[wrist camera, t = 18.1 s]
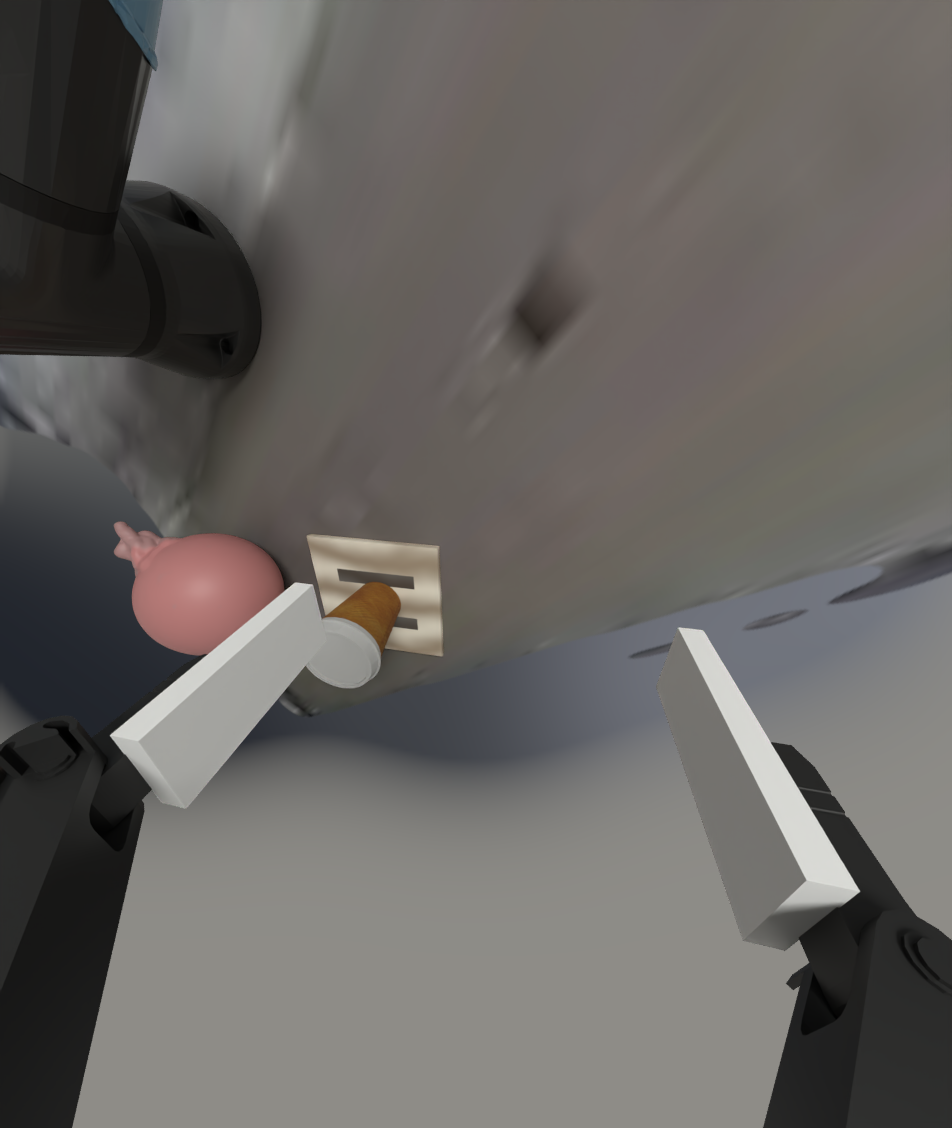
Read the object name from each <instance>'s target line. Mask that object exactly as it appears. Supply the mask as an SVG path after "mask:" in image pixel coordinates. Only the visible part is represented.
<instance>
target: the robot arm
mask: <svg viewBox="0 0 952 1128" xmlns="http://www.w3.org/2000/svg"><path fill="white" fill-rule="evenodd" d="M162 3H163V0H0V354H10V355H59V356H108V357H135V358H138V359H140V360H143V361H146V362H149V363H152V364H154V365H157V366H160V367H163V368H165V369H168V370H171V371H174V372H177V373H179V374H182V375H185V376H189V377H194V378H203V379H209V378H226V377H230V376H233V375H235V374H237V373H239V372H240V371H242V370H243V369H244V368H245V367H246V366H247V365H248V364H249V362H250V361H251V359H252V358H253V356H254V354H255V351H256V349H257V346H258V342H259V337H260V329H261V312H260V304H259V298H258V293H257V289H256V285H255V282H254V279H253V276H252V273H251V271H250V268H249V266H248V263H247V261H246V259H245V257H244V255H243V253H242V252H241V250H240V248H239V246H238V245H237V243H236V242H235V240H234V239H233V237H232V236H231V234H230V233H229V232H228V230H227V229H226V228H225V227H224V226H223V224H222V223H221V222H220V221H219V220H218V219H217V218H216V217H215V216H214V215H213V214H212V213H211V212H210V211H208V210H207V209H206V208H205V207H203V206H202V205H201V204H199V203H197V202H196V201H194V200H192V199H190V198H189V197H187V196H184V195H182V194H180V193H178V192H176V191H174V190H172V189H170V188H168V187H165V186H163V185H159V184H156V183H152V182H147V181H129V180H126V179H127V174H128V170H129V166H130V162H131V157H132V153H133V149H134V145H135V140H136V136H137V132H138V128H139V123H140V119H141V115H142V111H143V106H144V102H145V98H146V94H147V89H148V85H149V81H150V77H151V72H152V68H153V69H154V70H155V71H156V70H157V66H158V61H157V57H156V54H155V45H156V39H157V33H158V27H159V21H160V15H161V9H162ZM326 640H327V639H326V635H325V631H324V627H323V623H322V619H321V615H320V611H319V607H318V603H317V599H316V595H315V591H314V587H313V585H311V584H303V583H294V584H293V585H291V586H290V587H289V588H288V589H287V590H285V591H284V592H283V593H282V594H280V595H279V596H278V597H277V598H276V599H274V600H273V601H272V602H271V603H270V604H268V605H267V606H266V607H265V608H264V609H262V610H261V611H260V612H259V613H257V614H256V615H255V616H254V617H253V618H251V619H250V620H249V621H248V622H247V623H245V624H244V625H243V626H242V627H240V628H239V629H238V630H237V631H236V632H234V633H233V634H232V635H231V636H230V637H228V638H227V639H226V640H225V641H223V642H222V643H221V644H220V645H219V646H217V647H216V648H215V649H214V650H213V651H211V652H210V653H209V654H203V655H201V656H199V657H197V658H195V659H193V660H192V661H190V662H188V663H186V664H184V665H183V666H182V667H180V668H179V669H178V670H177V671H175V672H174V673H173V674H171V675H170V676H169V677H168V678H167V680H166V681H163V682H161V683H160V684H159V685H158V686H156V687H155V688H154V689H153V692H149V693H148V694H147V695H145V696H144V697H143V698H141V699H140V700H139V701H138V702H136V703H135V704H134V705H133V706H131V708H129V709H128V710H126V711H125V712H124V713H123V714H121V715H120V716H119V717H118V718H116V719H115V720H114V721H113V722H111V723H110V724H109V725H108V726H107V727H105V728H104V729H103V730H101V731H100V732H99V733H98V734H96V735H95V736H94V737H92V738H91V737H90V736H89V735H88V733H87V732H86V731H85V730H84V728H83V727H82V726H81V725H80V724H79V722H78V721H77V720H76V719H74V717H72V716H59V717H53V718H49V719H46V720H43V721H40V722H38V723H35V724H33V725H30V726H29V727H27V728H25V729H23V730H21V731H19V732H18V733H16V734H14V735H13V736H11V737H10V738H9V739H7V740H6V741H5V742H3V743H2V744H0V1128H72V1126H73V1121H74V1117H75V1112H76V1108H77V1103H78V1099H79V1095H80V1091H81V1086H82V1082H83V1077H84V1073H85V1069H86V1064H87V1060H88V1055H89V1051H90V1047H91V1042H92V1038H93V1033H94V1029H95V1025H96V1020H97V1016H98V1012H99V1007H100V1003H101V999H102V994H103V990H104V985H105V981H106V977H107V972H108V968H109V963H110V959H111V955H112V950H113V946H114V942H115V937H116V933H117V928H118V924H119V919H120V915H121V910H122V906H123V902H124V898H125V893H126V889H127V885H128V880H129V876H130V871H131V867H132V863H133V858H134V854H135V850H136V845H137V841H138V836H139V832H140V828H141V823H142V819H143V815H144V803H143V802H142V799H143V798H144V797H145V796H146V795H147V794H148V793H149V792H150V791H151V790H152V791H153V793H154V794H155V795H156V797H157V798H158V799H159V801H160V802H161V803H164V804H169V805H173V806H177V807H181V808H185V809H186V808H187V807H188V806H189V805H190V803H191V802H192V801H193V800H194V799H195V798H196V796H197V795H198V794H199V793H200V792H201V790H202V789H203V788H204V787H205V786H206V784H207V783H208V782H209V781H210V779H211V778H212V777H213V776H214V775H215V774H216V772H217V771H218V770H219V769H220V767H221V766H222V765H223V764H224V763H225V761H226V760H227V759H228V758H229V757H230V756H231V754H232V753H233V752H234V751H235V749H236V748H237V747H238V746H239V745H240V744H241V742H242V741H243V740H244V739H245V738H246V736H247V735H248V734H249V733H250V731H251V730H252V729H253V728H254V727H255V725H256V724H257V723H258V722H259V721H260V719H261V718H262V717H263V716H264V715H265V713H266V712H267V711H268V710H269V709H270V707H271V706H272V705H273V704H274V703H275V701H276V700H277V699H278V698H279V697H280V695H281V694H282V693H283V692H284V691H285V689H286V688H287V687H288V686H289V685H290V683H291V682H292V681H293V680H294V679H295V677H296V676H297V675H298V674H299V673H300V671H301V670H302V669H303V668H304V667H305V665H306V664H307V663H308V662H309V661H310V659H311V658H312V657H313V656H314V655H315V653H316V652H317V651H318V650H319V649H320V647H321V646H322V645H323V644H324V643H325V641H326ZM656 688H657V691H658V694H659V697H660V700H661V702H662V706H663V708H664V711H665V714H666V717H667V720H668V723H669V726H670V729H671V732H672V735H673V738H674V740H675V744H676V746H677V749H678V752H679V755H680V758H681V761H682V764H683V767H684V770H685V773H686V776H687V778H688V782H689V784H690V787H691V790H692V793H693V796H694V799H695V802H696V805H697V808H698V811H699V813H700V816H701V820H702V822H703V825H704V828H705V831H706V834H707V837H708V840H709V843H710V846H711V848H712V852H713V855H714V857H715V860H716V863H717V866H718V869H719V872H720V875H721V878H722V881H723V884H724V887H725V889H726V892H727V895H728V898H729V901H730V904H731V907H732V910H733V913H734V916H735V919H736V922H737V925H738V928H739V930H740V933H741V936H742V939H743V941H747V942H751V943H755V944H759V945H763V946H768V947H772V948H776V949H780V950H784V951H785V950H787V949H788V948H789V947H790V946H792V945H793V944H794V943H795V942H797V941H798V940H800V942H801V945H802V947H803V949H804V951H805V954H806V956H807V958H808V960H809V963H808V964H807V965H806V966H804V967H803V968H801V969H800V970H798V971H797V972H796V973H794V974H793V975H792V976H791V977H790V979H789V980H788V981H787V983H786V984H787V985H788V986H789V987H791V989H793V990H794V989H795V988H797V987H799V986H800V988H799V992H798V996H797V1000H796V1004H795V1007H794V1011H793V1016H792V1019H791V1023H790V1027H789V1030H788V1034H787V1038H786V1042H785V1046H784V1050H783V1053H782V1058H781V1061H780V1065H779V1069H778V1073H777V1077H776V1080H775V1084H774V1088H773V1092H772V1096H771V1100H770V1104H769V1107H768V1111H767V1115H766V1119H765V1123H764V1127H763V1128H952V940H951V939H949V938H948V937H947V936H946V935H944V934H943V933H942V932H941V931H939V929H937V928H935V927H934V926H932V925H930V924H929V923H927V922H925V921H924V920H922V919H920V918H918V917H917V916H916V915H915V913H914V912H913V911H912V909H911V908H910V907H909V906H908V904H907V903H906V902H905V900H904V899H903V897H902V896H901V894H900V893H899V891H898V890H897V888H896V887H895V886H894V884H893V883H892V881H891V880H890V878H889V877H888V875H887V874H886V872H885V871H884V869H883V868H882V866H881V865H880V863H879V862H878V860H877V859H876V858H875V856H874V854H873V853H872V851H871V850H870V849H869V847H868V846H867V844H866V843H865V841H864V840H863V838H862V837H861V835H860V834H859V832H858V831H857V829H856V828H855V826H854V825H853V823H852V822H851V820H850V819H849V818H848V817H846V816H845V811H844V810H843V809H842V807H841V806H840V804H839V803H838V801H837V800H836V798H835V797H834V796H832V795H831V791H830V789H829V788H828V786H827V785H826V783H825V782H824V780H823V779H822V777H821V776H820V774H819V773H818V771H817V770H816V769H815V767H814V766H813V765H812V764H811V763H810V762H809V761H807V760H806V759H805V758H804V757H803V756H802V755H801V754H800V753H799V752H798V751H797V750H796V749H795V748H794V747H793V746H792V745H785V744H779V743H773V742H770V741H769V739H768V738H767V736H766V734H765V732H764V731H763V729H762V727H761V726H760V724H759V722H758V721H757V719H756V717H755V716H754V714H753V712H752V711H751V709H750V707H749V706H748V704H747V702H746V701H745V699H744V697H743V696H742V694H741V693H740V691H739V689H738V687H737V686H736V684H735V682H734V681H733V679H732V677H731V676H730V674H729V672H728V671H727V669H726V668H725V666H724V664H723V662H722V661H721V659H720V658H719V656H718V654H717V652H716V651H715V649H714V648H713V646H712V644H711V642H710V641H709V639H708V637H707V636H706V634H705V633H704V631H703V630H696V629H687V628H679V627H678V629H677V632H676V634H675V637H674V640H673V642H672V645H671V648H670V650H669V653H668V656H667V659H666V661H665V664H664V667H663V670H662V672H661V675H660V678H659V680H658V683H657V686H656Z"/></svg>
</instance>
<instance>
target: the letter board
mask: <svg viewBox="0 0 952 1128" xmlns="http://www.w3.org/2000/svg"><path fill="white" fill-rule="evenodd" d="M307 540H308V544H309V548H310V552H311V557H312V561H313V565H314V569H315V573H316V577H317V582H318V586H319V590H320V594H321V598H322V602H323V607H324V611H325V615H327V614H329V613H330V612H331V611H332V610H334V609H335V608H336V607H337V606H339V605H340V604H341V603H342V602H344V601H345V600H346V599H347V598H349V597H350V596H351V595H352V594H354V593H355V592H356V591H357V590H358V589H360V588H361V587H362V586H363V585H365V584H366V583H369V582H380V583H383V584H386V585H387V586H389V587H391V588H392V589H393V590H394V591H395V592H396V593H397V595H398V596H399V598H400V602H401V609H400V611H399V614H398V616H397V619H396V621H395V624H394V626H393V628H392V631H391V634H390V635H389V638H388V641H387V643H386V645H385V648H386V649H393V650H400V651H407V652H414V653H421V654H428V655H435V656H443V653H444V648H443V623H442V599H441V575H440V550H439V546H433V545H423V544H412V543H401V542H390V541H380V540H369V539H358V538H347V537H337V536H326V535H315V534H310V535H308V536H307Z"/></svg>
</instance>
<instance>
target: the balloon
mask: <svg viewBox="0 0 952 1128" xmlns="http://www.w3.org/2000/svg"><path fill="white" fill-rule="evenodd" d="M114 528H115V531H116V533H117V534H118V536H119V537H120V538H121V540H120V542H119V544H118V545H117V547H116V548H115V550H114V554H115V555H116V556H117V557H119V558H122V559H127V560H130V561H131V562H132V564H133V567H134V569H135V576H136V579H135V582H134V585H133V590H132V604H133V609H134V613H135V616H136V618H137V620H138V622H139V624H140V625H141V627H142V628H143V629H144V630H145V632H146V633H148V635H149V636H151V637H152V638H153V639H154V640H155V641H157V642H158V643H160V644H162V645H163V646H165V647H167V648H170V649H172V650H175V651H178V652H182V653H185V654H191V655H203V654H209V653H210V652H211V651H213V650H214V649H215V648H216V647H217V646H219V645H220V644H221V643H222V642H223V641H225V640H226V639H227V638H228V637H230V636H231V635H232V634H233V633H234V632H236V631H237V630H238V629H239V628H240V627H242V626H243V625H244V624H245V623H247V622H248V621H249V620H250V619H251V618H253V617H254V616H255V615H256V614H257V613H259V612H260V611H261V610H262V609H264V608H265V607H266V606H267V605H268V604H270V603H271V602H272V601H273V600H274V599H276V598H277V597H278V596H279V595H280V594H282V593H283V592H284V582H283V578H282V575H281V572H280V570H279V568H278V566H277V565H276V563H275V562H274V560H273V559H272V558H271V557H270V556H269V555H268V554H267V553H266V552H265V551H264V550H263V549H261V548H260V547H258V546H257V545H255V544H253V543H252V542H250V541H247V540H245V539H242V538H239V537H236V536H232V535H227V534H217V533H207V534H197V535H192V536H188V537H184V538H177V537H164V538H160V537H159V536H157V535H156V534H155V533H153V532H151V531H140V532H135V531H134V530H133V529H132V528H130V527H129V526H128V525H127V524H126V523H125V522H116V523H115V525H114Z"/></svg>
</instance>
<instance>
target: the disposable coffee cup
mask: <svg viewBox="0 0 952 1128" xmlns="http://www.w3.org/2000/svg"><path fill="white" fill-rule="evenodd" d="M400 609H401V602H400V598H399V596H398V595H397V593H396V592H395V591H394V590H393V589H392V588H391V587H389V586H387V585H386V584H383V583H380V582H369V583H366V584H365V585H363V586H362V587H361V588H360V589H358V590H357V591H356V592H355V593H354V594H352V595H351V596H350V597H349V598H347V599H346V600H345V601H344V602H342V603H341V604H340V605H339V606H337V607H336V608H335V609H334V610H332V611H331V612H330V613H329V614H327V615H326V616H325V617H324V618H322V623H323V627H324V631H325V635H326V639H327V640H326V641H325V643H324V644H323V645H322V646H321V647H320V649H319V650H318V651H317V652H316V653H315V655H314V656H313V657H312V658H311V659H310V661H309V662H308V663H307V664H306V667H307V668H308V669H309V670H310V671H311V672H312V673H313V674H314V675H315V676H316V677H318V678H319V679H321V680H322V681H324V682H326V683H328V684H331V685H334V686H337V687H340V688H356V687H360V686H362V685H363V684H365V683H366V682H367V681H369V680H371V679H372V678H374V677H375V675H376V674H377V673H378V671H379V669H380V666H381V656H382V653H383V651H384V649H385V645H386V643H387V641H388V638H389V635H390V634H391V631H392V628H393V626H394V624H395V621H396V619H397V616H398V614H399V611H400Z"/></svg>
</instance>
